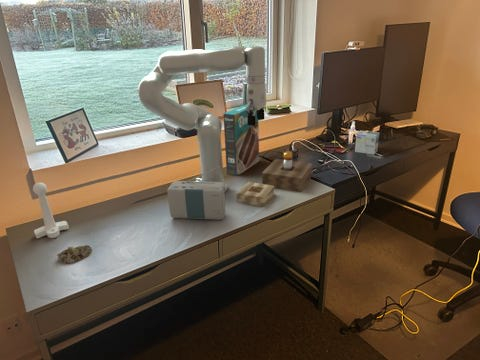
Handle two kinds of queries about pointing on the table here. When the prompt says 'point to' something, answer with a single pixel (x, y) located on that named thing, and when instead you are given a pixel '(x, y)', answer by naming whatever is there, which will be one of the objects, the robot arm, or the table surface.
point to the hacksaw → (324, 165)
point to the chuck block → (287, 175)
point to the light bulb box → (367, 142)
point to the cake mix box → (240, 141)
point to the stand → (255, 194)
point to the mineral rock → (74, 254)
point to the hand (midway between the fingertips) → (256, 122)
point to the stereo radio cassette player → (197, 199)
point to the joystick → (47, 215)
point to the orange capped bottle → (287, 160)
